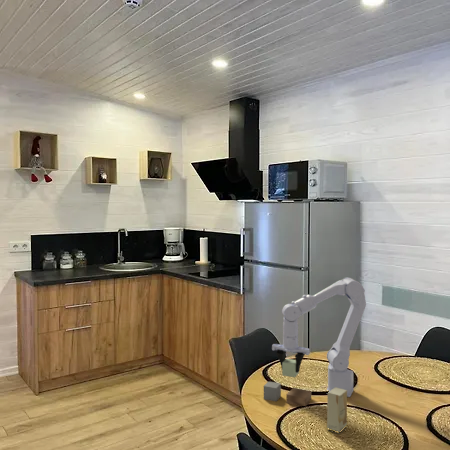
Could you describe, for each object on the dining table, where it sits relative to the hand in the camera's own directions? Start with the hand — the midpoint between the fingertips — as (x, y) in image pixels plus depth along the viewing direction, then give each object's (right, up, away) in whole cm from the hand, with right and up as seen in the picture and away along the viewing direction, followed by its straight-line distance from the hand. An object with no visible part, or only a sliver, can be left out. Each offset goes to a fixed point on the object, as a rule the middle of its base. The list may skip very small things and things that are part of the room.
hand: (290, 370), depth 176 cm
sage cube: (0, -1, 0) cm, 1 cm away
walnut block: (+2, -9, -8) cm, 12 cm away
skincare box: (+11, -10, -29) cm, 32 cm away
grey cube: (-8, -9, -5) cm, 12 cm away
